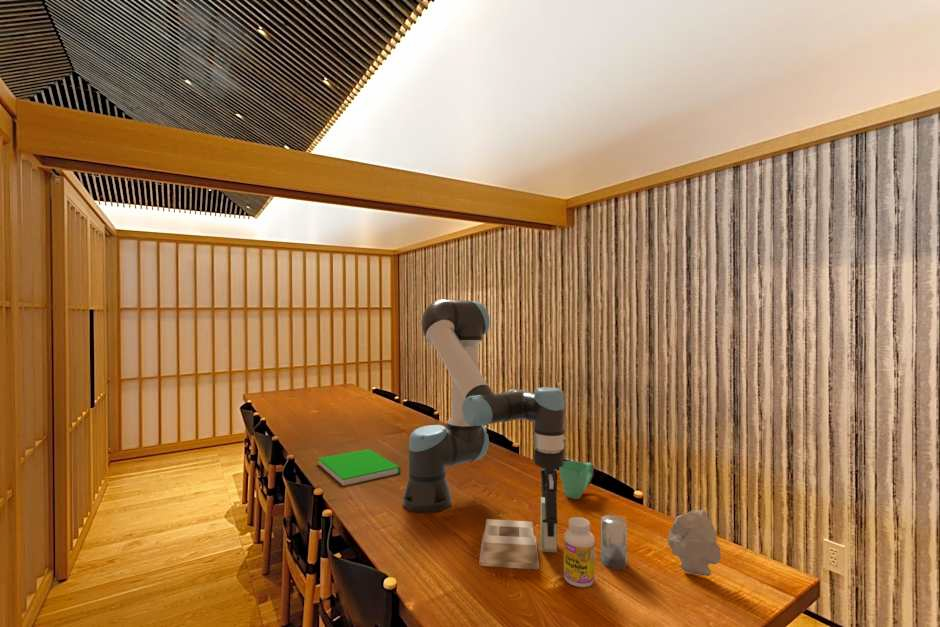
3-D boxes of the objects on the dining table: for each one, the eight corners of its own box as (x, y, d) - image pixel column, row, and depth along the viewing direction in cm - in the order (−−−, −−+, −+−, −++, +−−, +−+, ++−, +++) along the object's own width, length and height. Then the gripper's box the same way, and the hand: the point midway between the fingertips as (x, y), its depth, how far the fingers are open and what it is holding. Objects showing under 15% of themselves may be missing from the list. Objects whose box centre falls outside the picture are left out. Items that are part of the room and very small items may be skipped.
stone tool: (665, 569, 99) (665, 504, 99) (669, 562, 102) (669, 499, 102) (719, 588, 92) (719, 518, 92) (722, 580, 95) (721, 512, 95)
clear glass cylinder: (603, 568, 99) (604, 525, 99) (598, 555, 105) (598, 514, 105) (629, 570, 98) (629, 526, 99) (622, 556, 104) (622, 515, 104)
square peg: (541, 551, 106) (541, 503, 107) (540, 543, 110) (540, 496, 110) (556, 552, 106) (557, 503, 106) (555, 544, 110) (555, 497, 110)
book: (342, 487, 147) (342, 478, 147) (317, 465, 170) (317, 458, 170) (400, 474, 161) (400, 466, 161) (370, 455, 183) (370, 448, 183)
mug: (575, 504, 134) (575, 472, 134) (552, 494, 142) (552, 464, 142) (603, 494, 143) (604, 464, 143) (580, 485, 151) (580, 456, 151)
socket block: (479, 565, 100) (479, 544, 100) (482, 536, 114) (483, 517, 114) (539, 569, 98) (539, 547, 98) (535, 539, 112) (535, 520, 112)
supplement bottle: (559, 582, 94) (559, 523, 94) (569, 567, 99) (569, 512, 100) (589, 592, 90) (589, 531, 90) (597, 577, 96) (598, 519, 96)
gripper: (569, 463, 98) (569, 562, 97) (559, 438, 119) (558, 520, 118) (536, 461, 98) (536, 560, 98) (532, 437, 119) (531, 519, 119)
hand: (548, 538), depth 108 cm, fingers open, 8 cm apart
